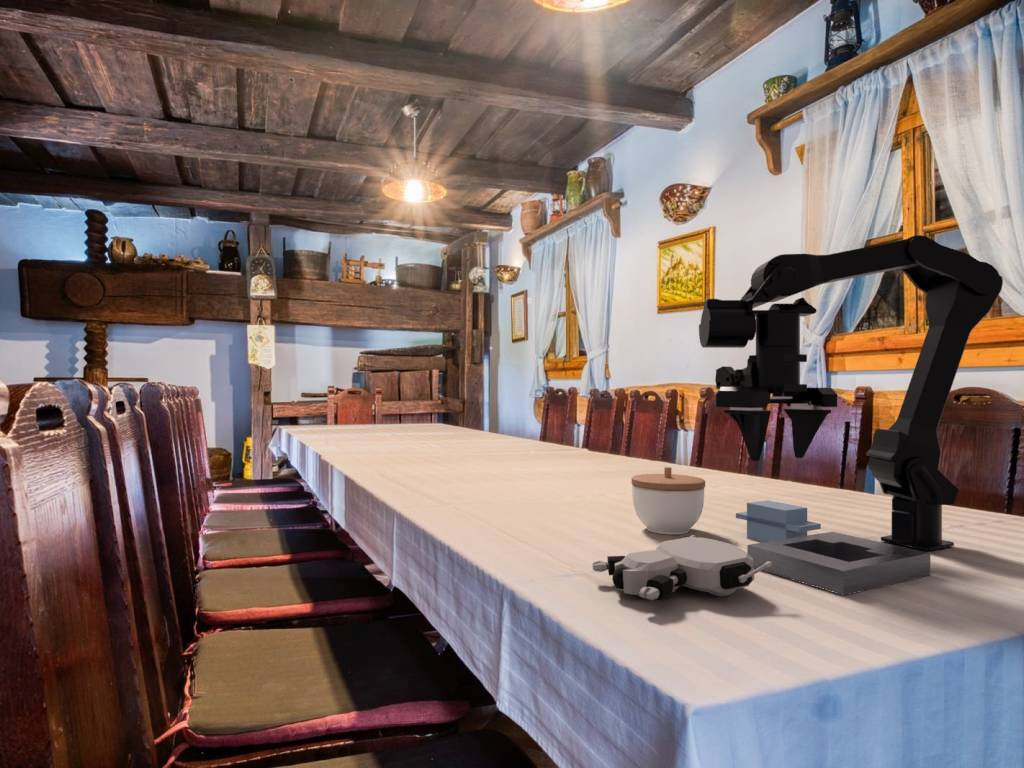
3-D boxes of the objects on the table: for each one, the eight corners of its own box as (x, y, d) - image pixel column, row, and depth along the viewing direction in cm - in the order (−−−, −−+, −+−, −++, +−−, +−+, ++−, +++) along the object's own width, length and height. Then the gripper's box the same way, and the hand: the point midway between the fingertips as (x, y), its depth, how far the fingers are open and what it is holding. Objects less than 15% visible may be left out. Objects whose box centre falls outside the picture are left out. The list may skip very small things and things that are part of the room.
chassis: (832, 550, 81) (832, 531, 81) (930, 574, 70) (930, 552, 71) (747, 565, 73) (747, 544, 73) (843, 595, 63) (843, 571, 63)
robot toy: (650, 630, 56) (779, 599, 61) (647, 580, 56) (776, 554, 61) (586, 589, 67) (699, 566, 73) (583, 548, 67) (697, 528, 72)
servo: (763, 530, 93) (763, 497, 93) (828, 546, 83) (828, 509, 84) (735, 535, 90) (735, 500, 90) (799, 551, 81) (799, 513, 81)
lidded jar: (616, 529, 93) (617, 466, 93) (657, 519, 100) (657, 461, 100) (679, 542, 85) (679, 474, 85) (718, 531, 92) (719, 468, 92)
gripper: (773, 353, 98) (773, 451, 98) (686, 348, 89) (686, 457, 89) (839, 349, 88) (839, 458, 88) (749, 343, 79) (749, 465, 79)
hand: (777, 459), depth 86 cm, fingers open, 9 cm apart
